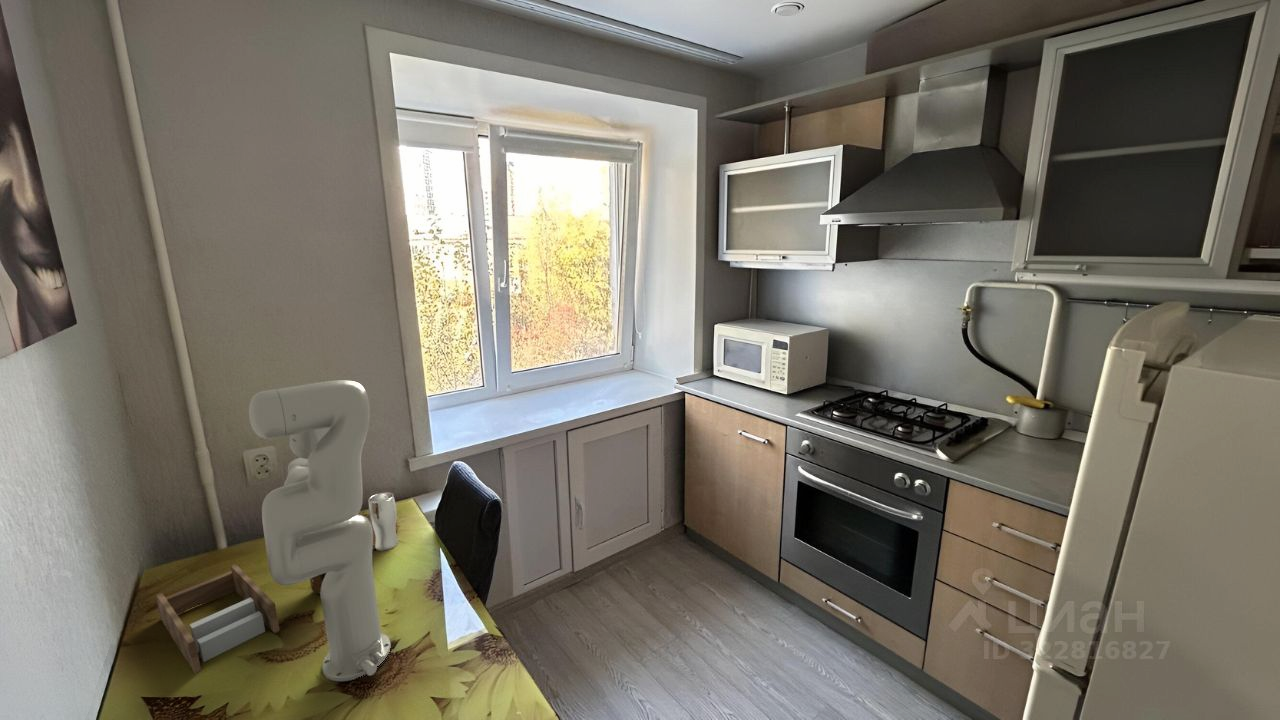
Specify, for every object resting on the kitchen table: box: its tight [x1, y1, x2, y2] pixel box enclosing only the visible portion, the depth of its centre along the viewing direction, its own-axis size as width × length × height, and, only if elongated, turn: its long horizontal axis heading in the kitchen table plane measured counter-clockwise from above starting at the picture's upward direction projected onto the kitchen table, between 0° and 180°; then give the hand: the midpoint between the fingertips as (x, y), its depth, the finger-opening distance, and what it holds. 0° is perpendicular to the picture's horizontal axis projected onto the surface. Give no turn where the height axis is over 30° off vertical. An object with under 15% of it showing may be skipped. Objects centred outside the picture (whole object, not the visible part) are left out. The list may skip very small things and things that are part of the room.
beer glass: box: [367, 491, 399, 552], centre depth 149 cm, size 7×7×15 cm
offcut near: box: [189, 597, 256, 653], centre depth 114 cm, size 2×11×6 cm, turn 143°
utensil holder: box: [309, 575, 323, 594], centre depth 129 cm, size 6×6×12 cm
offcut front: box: [197, 611, 266, 662], centre depth 112 cm, size 2×11×4 cm, turn 143°
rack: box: [155, 563, 280, 674], centre depth 118 cm, size 27×15×7 cm, turn 53°
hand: (322, 572), depth 129 cm, fingers closed on utensil holder, 5 cm apart
